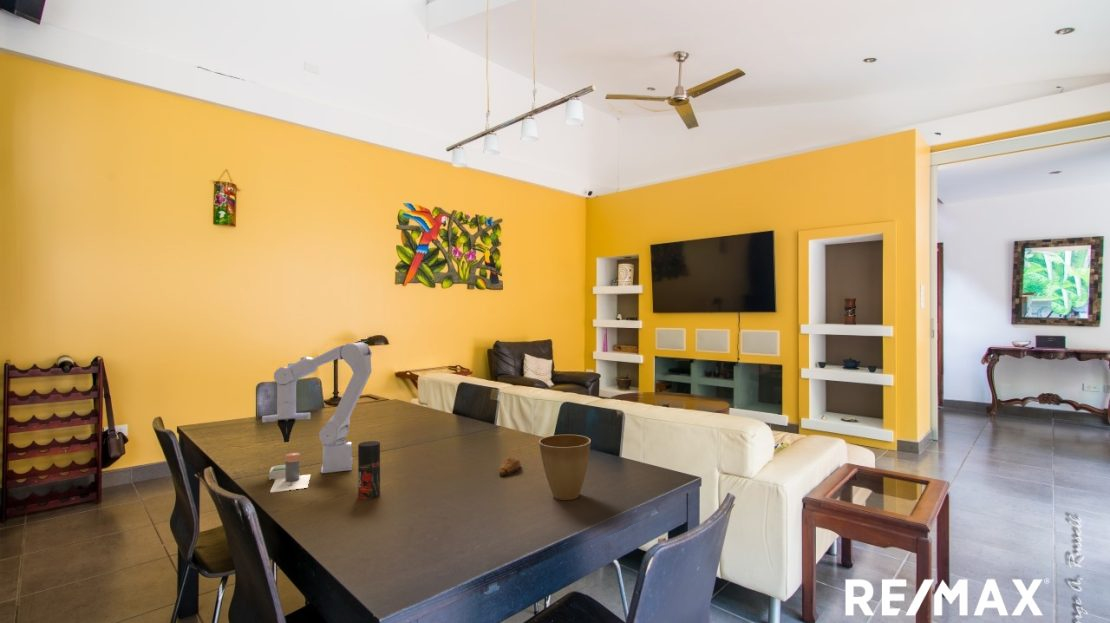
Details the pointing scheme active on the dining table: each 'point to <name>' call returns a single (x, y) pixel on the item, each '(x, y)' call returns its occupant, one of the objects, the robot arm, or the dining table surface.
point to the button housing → (276, 474)
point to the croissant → (509, 466)
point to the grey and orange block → (292, 467)
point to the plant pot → (565, 463)
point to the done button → (279, 467)
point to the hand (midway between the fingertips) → (286, 441)
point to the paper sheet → (290, 484)
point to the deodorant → (368, 469)
